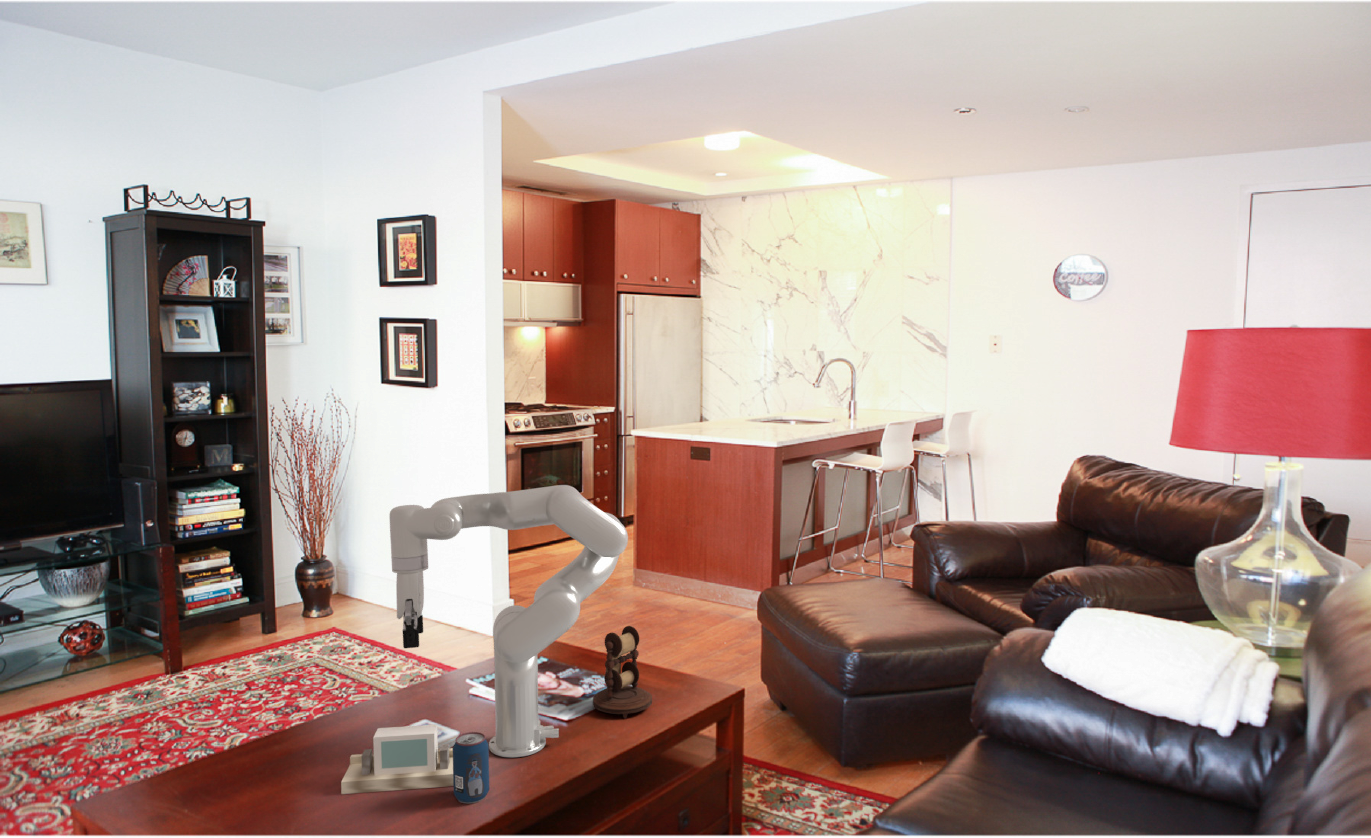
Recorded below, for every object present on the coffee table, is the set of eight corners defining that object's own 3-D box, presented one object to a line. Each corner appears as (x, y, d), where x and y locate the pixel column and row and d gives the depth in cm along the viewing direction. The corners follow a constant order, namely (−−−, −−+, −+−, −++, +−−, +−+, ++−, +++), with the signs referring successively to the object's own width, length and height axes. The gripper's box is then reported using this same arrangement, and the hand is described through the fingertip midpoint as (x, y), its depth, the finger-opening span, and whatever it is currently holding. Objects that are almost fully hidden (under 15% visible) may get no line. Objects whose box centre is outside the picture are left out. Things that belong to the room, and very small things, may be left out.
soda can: (471, 785, 179) (470, 728, 179) (496, 793, 176) (495, 735, 175) (446, 799, 173) (444, 740, 173) (472, 808, 170) (470, 748, 169)
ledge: (468, 765, 188) (467, 735, 188) (464, 785, 179) (463, 754, 179) (351, 773, 185) (350, 743, 184) (341, 794, 176) (340, 762, 175)
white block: (438, 761, 184) (437, 724, 184) (435, 771, 180) (434, 733, 179) (378, 765, 183) (377, 728, 182) (374, 775, 178) (373, 737, 178)
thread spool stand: (619, 692, 229) (618, 617, 228) (663, 705, 221) (663, 627, 219) (580, 710, 217) (579, 631, 216) (626, 725, 209) (625, 642, 207)
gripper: (396, 555, 197) (400, 629, 198) (386, 573, 180) (390, 655, 181) (431, 553, 199) (434, 627, 200) (424, 570, 182) (428, 651, 183)
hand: (413, 640), depth 191 cm, fingers open, 9 cm apart
